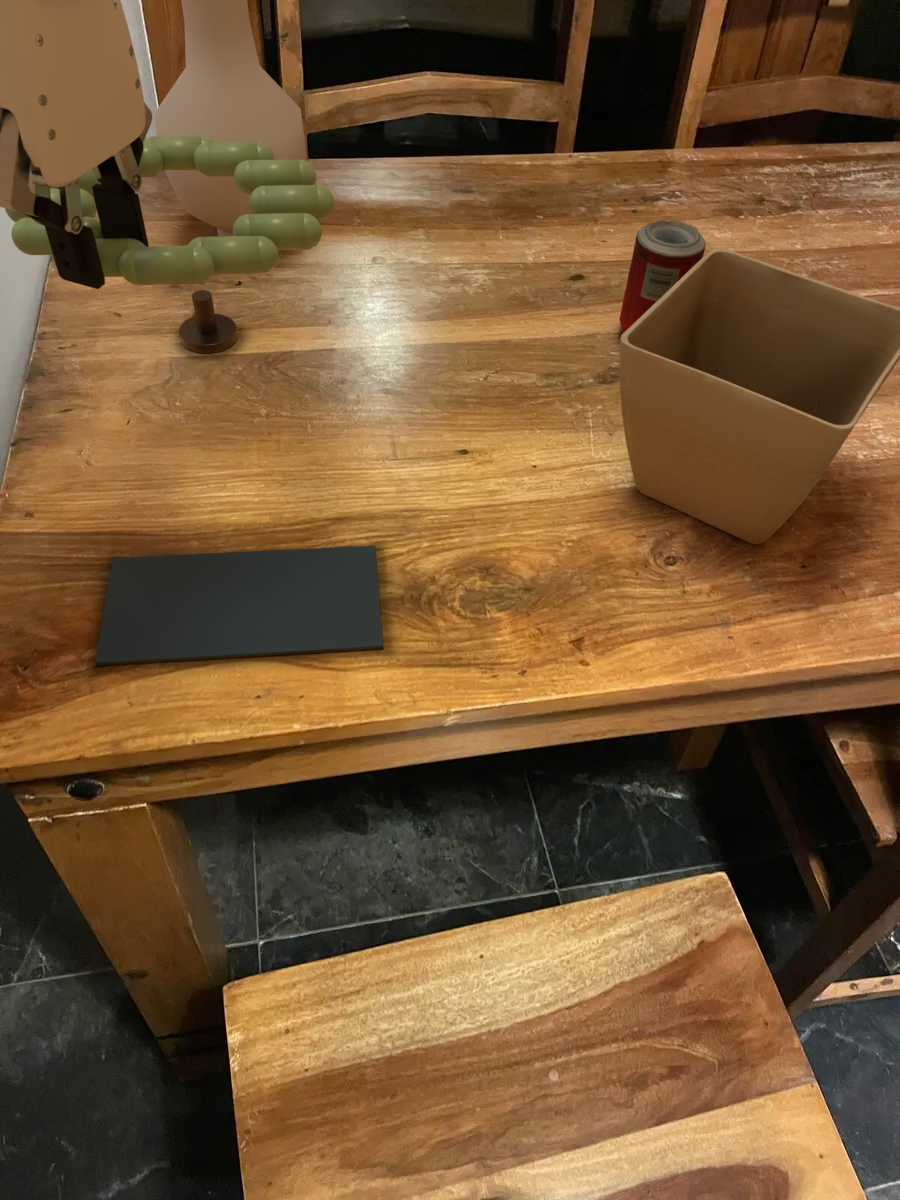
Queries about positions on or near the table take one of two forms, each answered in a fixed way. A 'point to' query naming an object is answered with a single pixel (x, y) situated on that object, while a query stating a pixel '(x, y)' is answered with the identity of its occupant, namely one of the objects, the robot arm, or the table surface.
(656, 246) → the soda can
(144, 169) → the ring
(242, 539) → the table surface
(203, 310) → the ring stand
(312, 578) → the mat
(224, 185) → the vase
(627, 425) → the flower pot
